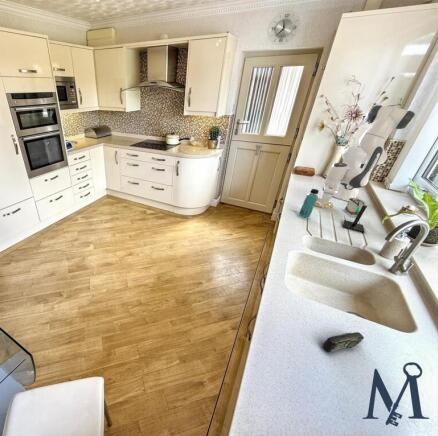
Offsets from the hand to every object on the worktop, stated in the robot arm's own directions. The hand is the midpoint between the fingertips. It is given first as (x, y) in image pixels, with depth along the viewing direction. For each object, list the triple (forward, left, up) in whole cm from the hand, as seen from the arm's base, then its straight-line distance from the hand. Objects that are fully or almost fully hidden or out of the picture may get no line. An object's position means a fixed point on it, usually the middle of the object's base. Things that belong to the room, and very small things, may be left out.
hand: (321, 204), depth 165 cm
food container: (-6, +20, -4) cm, 21 cm away
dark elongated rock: (+117, +11, -4) cm, 117 cm away
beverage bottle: (+22, -8, -4) cm, 24 cm away
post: (+16, +19, -3) cm, 25 cm away
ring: (-6, 0, 0) cm, 6 cm away
